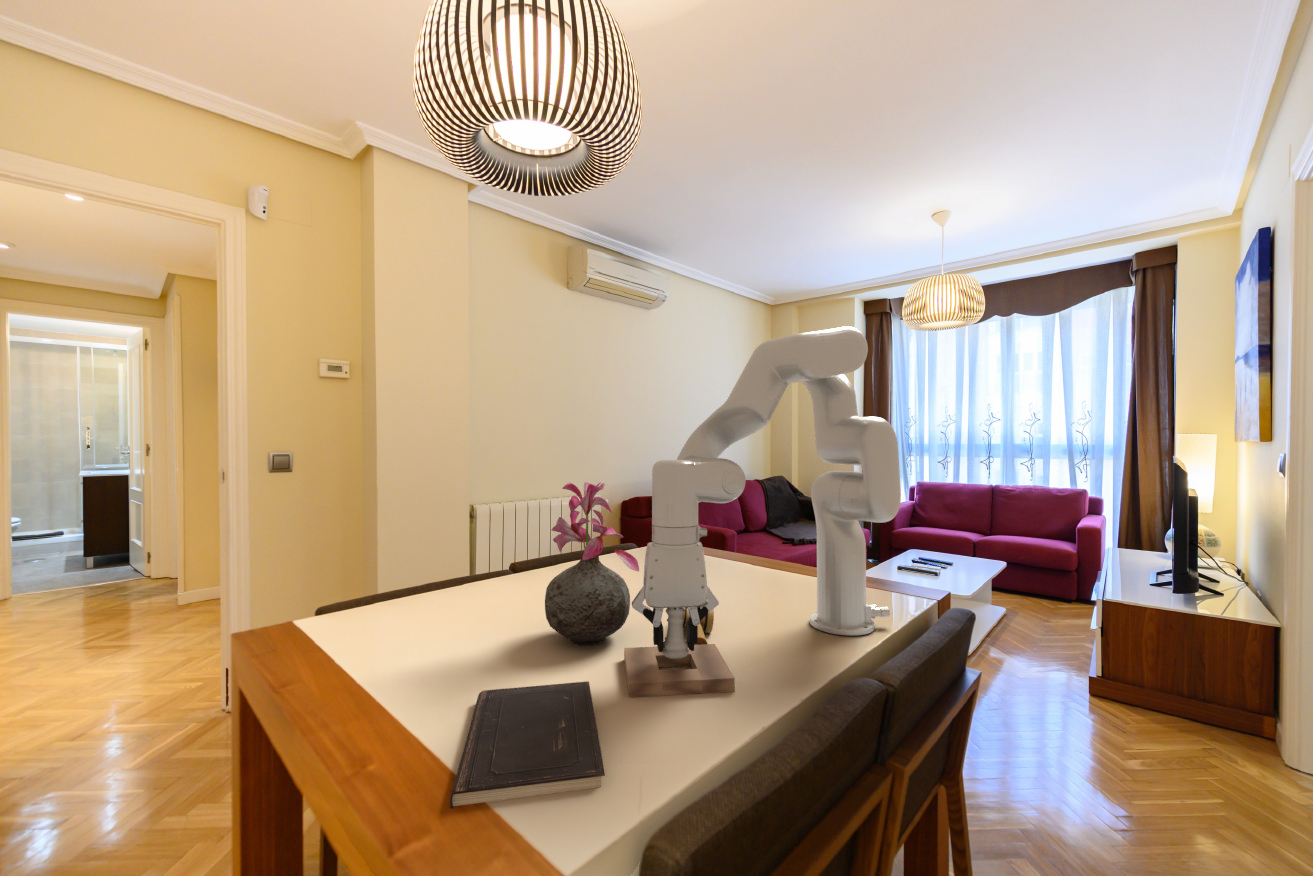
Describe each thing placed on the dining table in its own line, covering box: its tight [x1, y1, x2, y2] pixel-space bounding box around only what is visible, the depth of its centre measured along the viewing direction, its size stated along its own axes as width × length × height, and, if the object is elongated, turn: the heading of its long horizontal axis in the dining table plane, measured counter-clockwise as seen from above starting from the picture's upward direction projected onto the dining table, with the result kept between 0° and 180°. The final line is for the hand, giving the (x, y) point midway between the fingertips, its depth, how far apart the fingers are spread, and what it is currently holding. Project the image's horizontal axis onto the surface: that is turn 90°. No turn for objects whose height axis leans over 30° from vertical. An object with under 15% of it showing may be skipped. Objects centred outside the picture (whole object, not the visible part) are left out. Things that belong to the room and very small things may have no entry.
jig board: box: [623, 643, 736, 698], centre depth 88 cm, size 16×14×2 cm
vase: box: [544, 481, 640, 646], centre depth 104 cm, size 17×17×30 cm
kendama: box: [683, 606, 715, 645], centre depth 106 cm, size 8×6×18 cm
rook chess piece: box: [662, 607, 689, 659], centre depth 88 cm, size 4×4×8 cm
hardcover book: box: [449, 681, 606, 809], centre depth 68 cm, size 16×23×2 cm
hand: (675, 647), depth 88 cm, fingers closed on rook chess piece, 4 cm apart
